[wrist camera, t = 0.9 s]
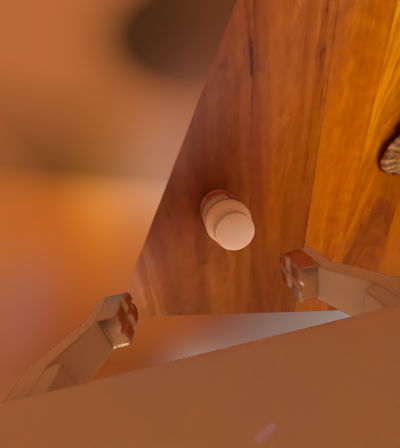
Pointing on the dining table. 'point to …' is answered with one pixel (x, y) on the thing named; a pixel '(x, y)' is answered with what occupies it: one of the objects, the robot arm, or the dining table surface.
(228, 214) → the pill bottle
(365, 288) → the robot arm
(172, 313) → the dining table surface
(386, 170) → the seashell
